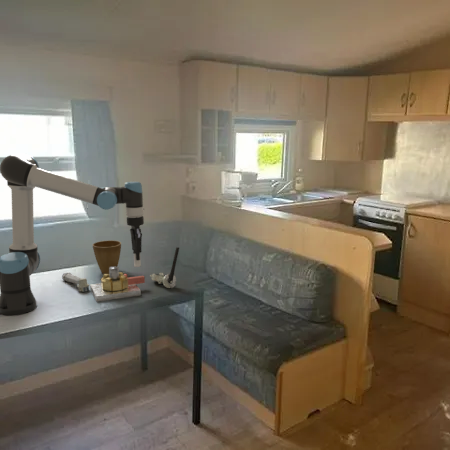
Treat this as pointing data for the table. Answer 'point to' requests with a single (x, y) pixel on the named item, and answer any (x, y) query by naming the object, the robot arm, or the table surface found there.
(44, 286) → the table surface
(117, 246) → the plant pot
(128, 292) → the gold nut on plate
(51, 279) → the table surface
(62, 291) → the table surface
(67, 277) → the white handheld device
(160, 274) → the butterfly valve
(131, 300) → the table surface
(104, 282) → the yellow valve with lever
